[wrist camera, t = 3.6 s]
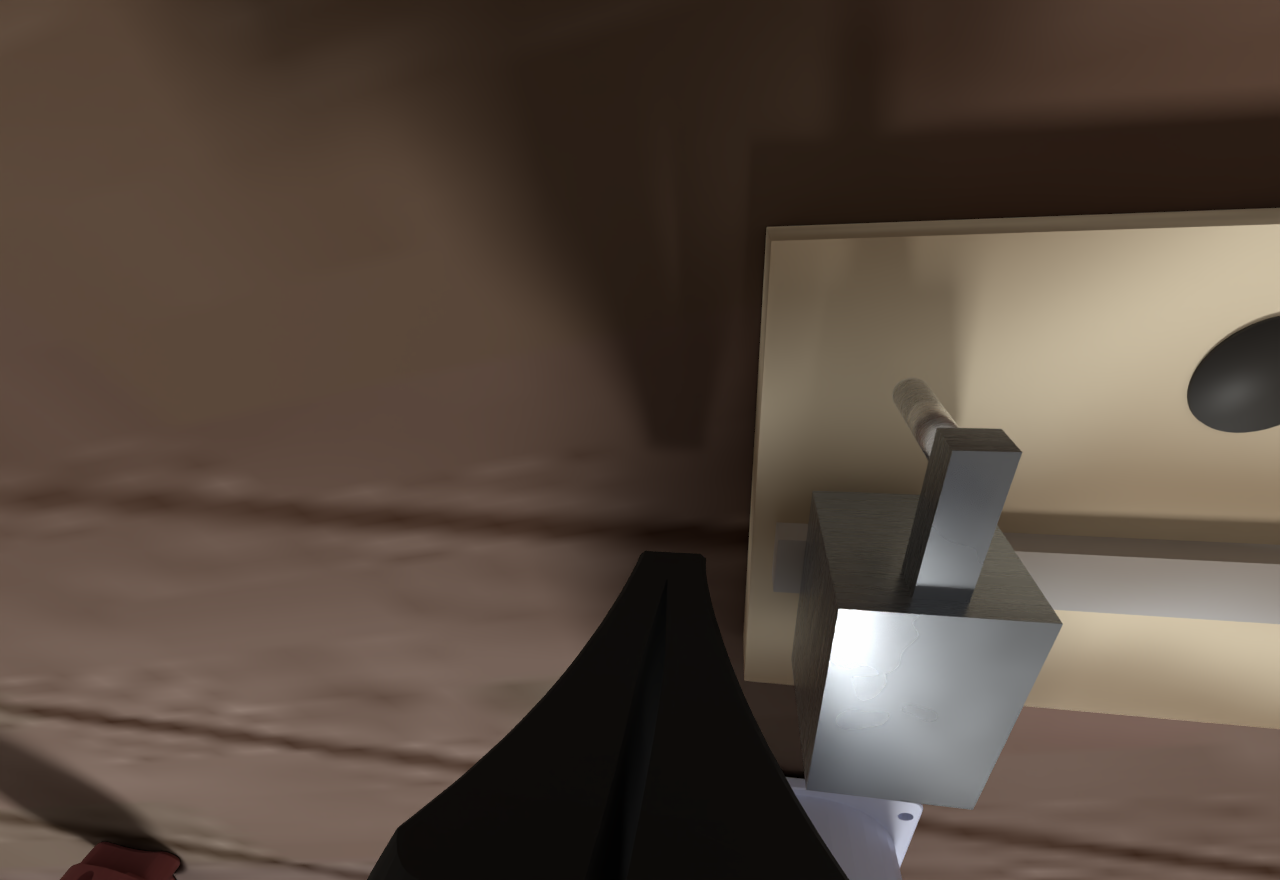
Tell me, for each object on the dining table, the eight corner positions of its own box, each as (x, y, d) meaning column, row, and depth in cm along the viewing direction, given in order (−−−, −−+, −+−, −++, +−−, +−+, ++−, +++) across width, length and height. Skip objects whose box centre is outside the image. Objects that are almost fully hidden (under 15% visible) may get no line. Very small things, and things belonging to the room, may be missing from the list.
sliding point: (916, 652, 13) (972, 810, 10) (789, 641, 13) (806, 790, 10) (1006, 355, 9) (1137, 467, 6) (823, 355, 10) (865, 460, 7)
